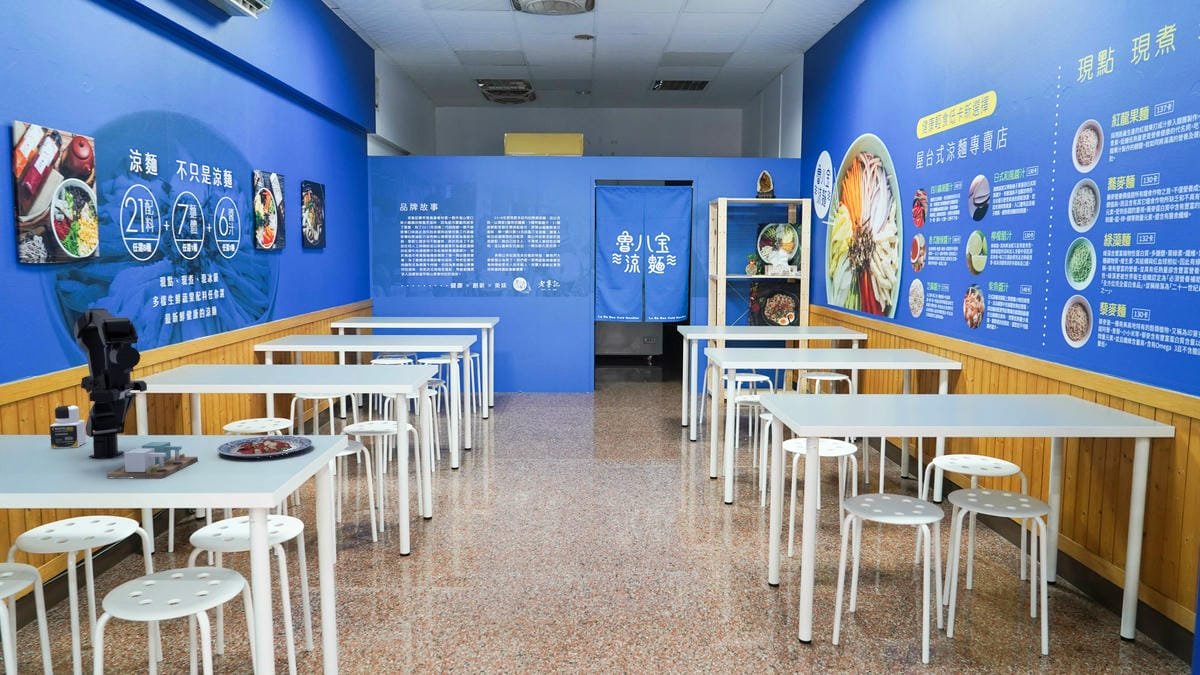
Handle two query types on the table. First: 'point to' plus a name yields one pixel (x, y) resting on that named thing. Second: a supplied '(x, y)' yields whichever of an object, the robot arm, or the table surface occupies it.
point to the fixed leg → (142, 459)
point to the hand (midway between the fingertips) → (120, 422)
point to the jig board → (157, 468)
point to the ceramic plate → (263, 446)
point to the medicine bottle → (67, 428)
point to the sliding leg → (163, 450)
